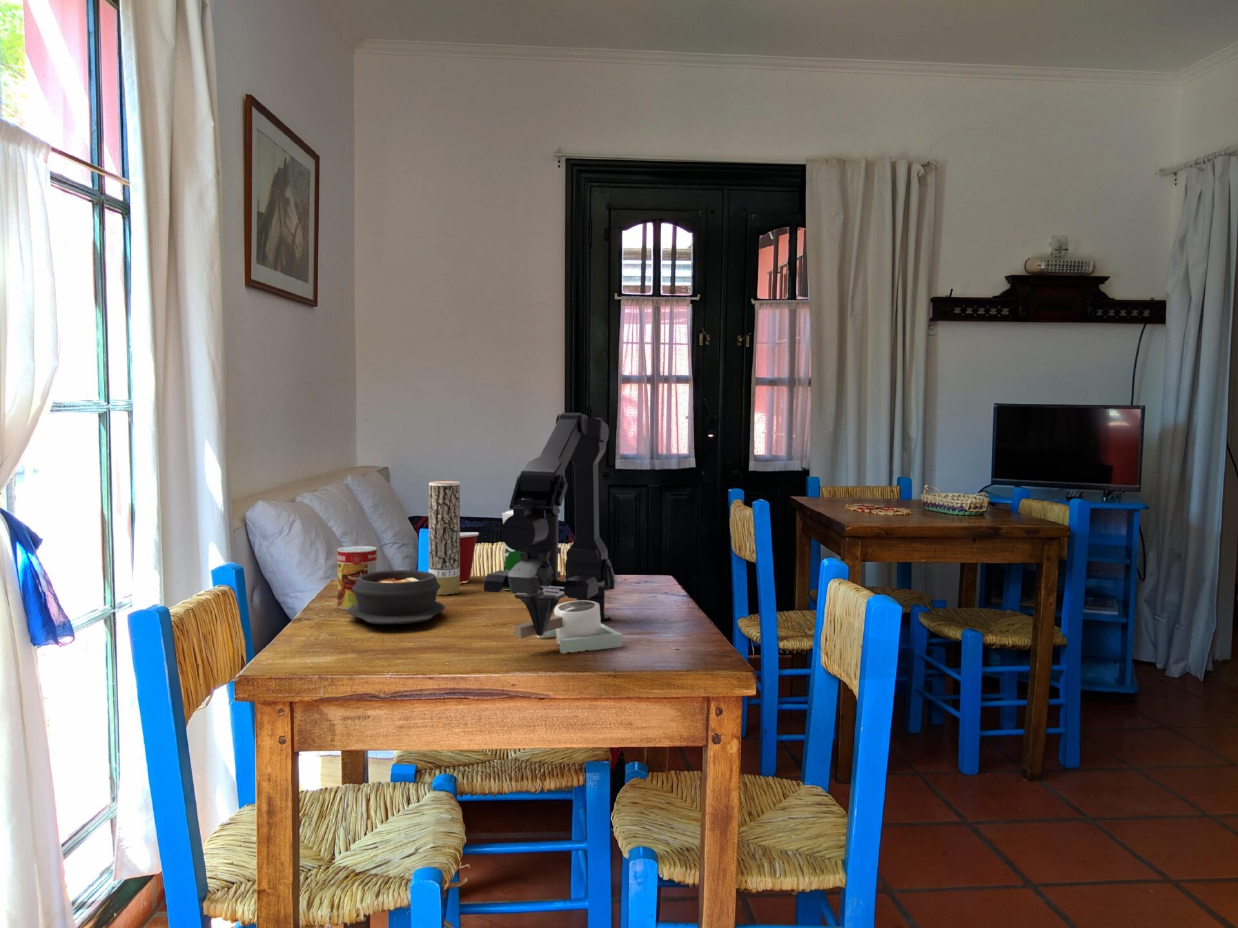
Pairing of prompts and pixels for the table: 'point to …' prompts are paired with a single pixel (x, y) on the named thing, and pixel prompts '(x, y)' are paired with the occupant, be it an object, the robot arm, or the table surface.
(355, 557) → the canned food
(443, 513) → the paper tube
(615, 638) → the u-shaped frame
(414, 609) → the casserole
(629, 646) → the table surface
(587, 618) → the saucepan
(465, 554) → the plastic cup
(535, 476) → the robot arm
